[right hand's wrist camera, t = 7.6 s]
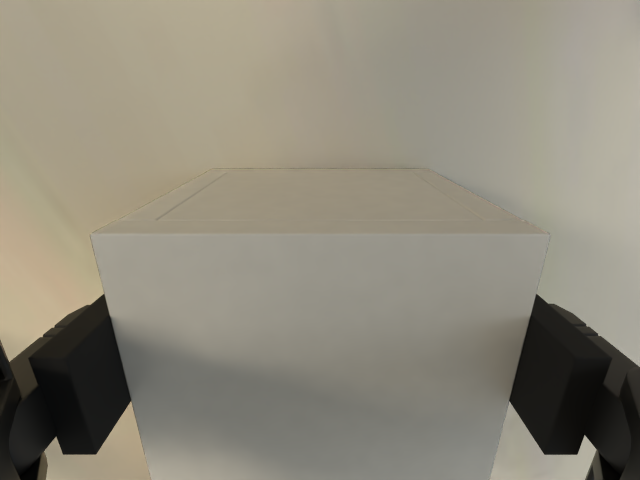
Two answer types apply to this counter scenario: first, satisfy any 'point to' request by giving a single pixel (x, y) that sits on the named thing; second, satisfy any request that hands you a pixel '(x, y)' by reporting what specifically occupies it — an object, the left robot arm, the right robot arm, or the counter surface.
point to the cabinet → (320, 324)
